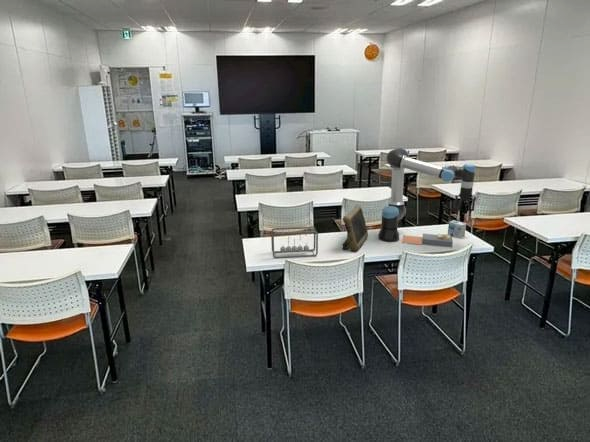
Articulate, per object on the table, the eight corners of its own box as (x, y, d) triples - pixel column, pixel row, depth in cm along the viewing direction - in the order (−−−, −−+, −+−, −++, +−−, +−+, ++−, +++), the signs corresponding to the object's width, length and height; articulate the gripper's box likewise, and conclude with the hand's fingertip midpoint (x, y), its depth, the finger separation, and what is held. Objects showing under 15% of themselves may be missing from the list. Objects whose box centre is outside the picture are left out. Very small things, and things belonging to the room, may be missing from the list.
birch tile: (437, 239, 283) (437, 236, 283) (437, 236, 289) (437, 233, 288) (449, 240, 281) (449, 237, 280) (449, 237, 286) (449, 234, 286)
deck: (422, 244, 285) (422, 239, 283) (422, 238, 296) (422, 233, 294) (452, 247, 279) (452, 241, 278) (451, 241, 290) (451, 236, 288)
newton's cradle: (315, 250, 275) (315, 226, 269) (317, 256, 265) (318, 231, 260) (271, 252, 272) (271, 228, 266) (272, 258, 262) (272, 233, 256)
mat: (401, 243, 287) (401, 242, 287) (403, 235, 301) (403, 235, 301) (422, 245, 283) (422, 244, 283) (422, 237, 297) (422, 237, 297)
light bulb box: (447, 235, 302) (448, 221, 299) (451, 233, 306) (452, 219, 303) (460, 238, 294) (462, 225, 291) (464, 236, 299) (466, 223, 295)
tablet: (361, 253, 270) (362, 218, 262) (340, 250, 274) (342, 216, 266) (368, 237, 299) (370, 205, 291) (350, 235, 303) (351, 203, 296)
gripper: (452, 187, 269) (448, 220, 276) (482, 189, 264) (477, 222, 271) (451, 185, 276) (448, 217, 283) (480, 186, 271) (476, 219, 278)
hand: (462, 219), depth 277 cm, fingers open, 5 cm apart
